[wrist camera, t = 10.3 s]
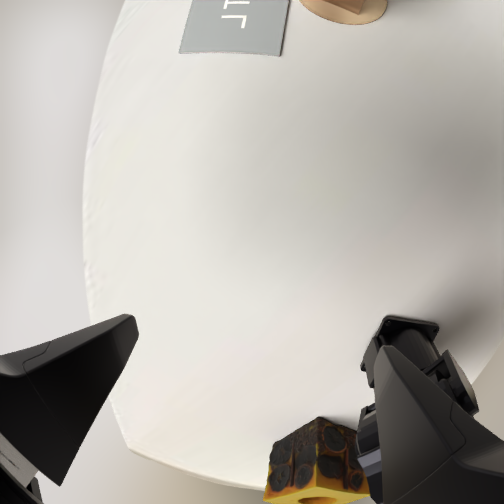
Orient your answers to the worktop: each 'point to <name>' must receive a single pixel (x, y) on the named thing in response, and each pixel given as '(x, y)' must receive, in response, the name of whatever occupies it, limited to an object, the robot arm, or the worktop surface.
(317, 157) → the worktop surface
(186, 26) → the tile
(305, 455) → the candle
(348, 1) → the walnut block
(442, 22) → the worktop surface
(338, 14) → the cork coaster
